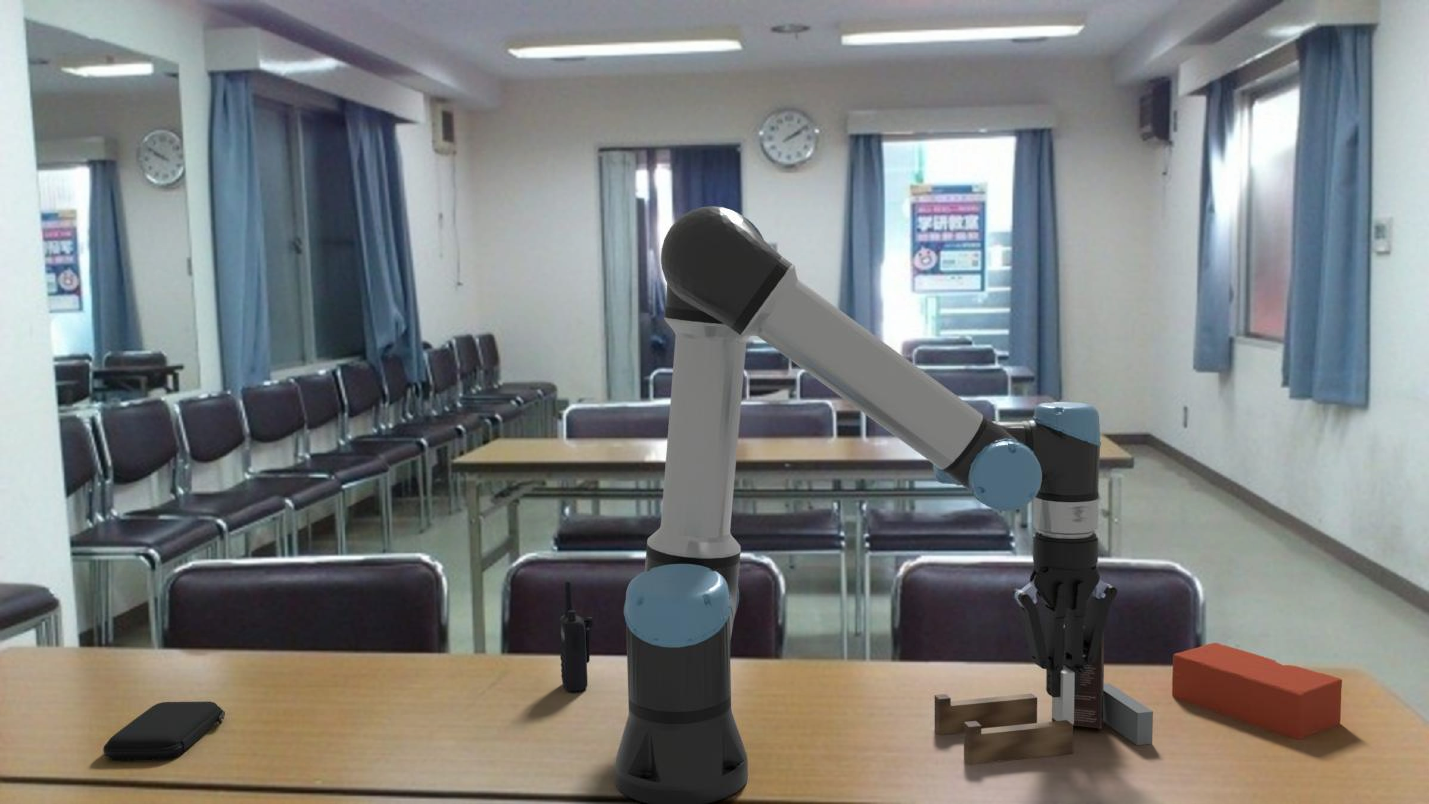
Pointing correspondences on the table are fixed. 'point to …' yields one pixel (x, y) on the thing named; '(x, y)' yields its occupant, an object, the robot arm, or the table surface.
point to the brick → (1257, 690)
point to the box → (1090, 693)
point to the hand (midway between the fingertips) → (1062, 720)
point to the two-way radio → (574, 645)
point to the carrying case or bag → (163, 731)
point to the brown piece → (1002, 728)
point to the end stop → (1127, 715)
